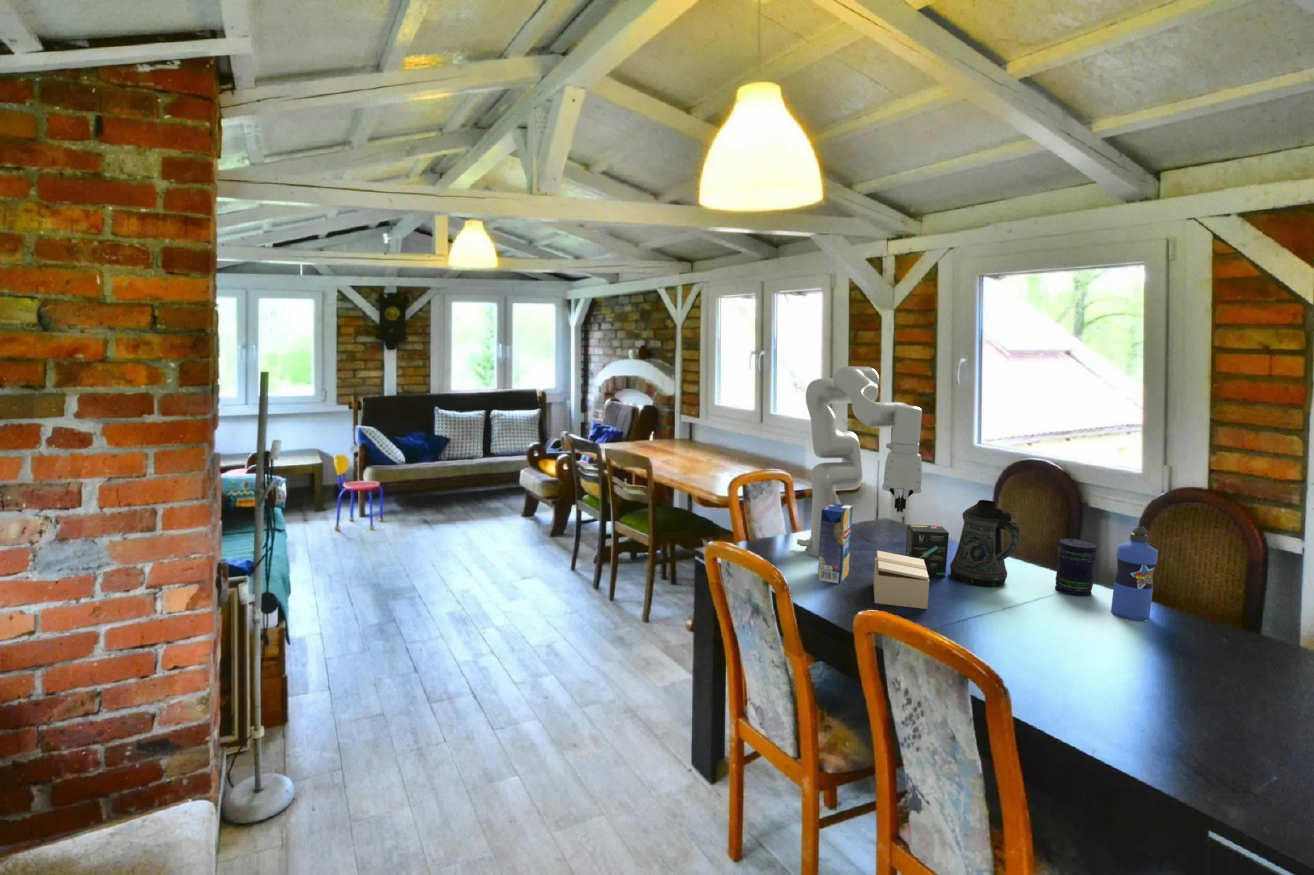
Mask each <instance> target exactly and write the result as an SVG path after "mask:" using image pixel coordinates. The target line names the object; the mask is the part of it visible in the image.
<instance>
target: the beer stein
mask: <svg viewBox="0 0 1314 875" xmlns="http://www.w3.org/2000/svg"><path fill="white" fill-rule="evenodd" d="M961 515H962V520H963V525H962V529H961V534H960V539H959V541H958V546H957V548H956V552H955V554H954V557H953V559H952V561H951V562H950V564H949V568H950V576H951V578H952V579H953V580H955V581H957V582H958V583H961V584H964V585H968V586H973V587H980V588H998V587H999V588H1000V587H1002V586H1004V585H1005V583H1006V580H1007V577H1008V570H1007V568H1006V563H1005V560H1006V559H1007V558H1009V557H1010V556H1011V555H1012V554H1013V553H1014V552H1016V550H1017V549H1018V547H1019V545H1020V543H1021V538H1022V537H1021V531H1020V527H1019V526H1018V525H1017V523H1016V522H1014V521H1012V515H1011V513H1010V512H1009V511H1008V510H1005V509H1002V508H1000V507H999V506H998V505H997V502H995V501H993V500H989V499H980V500H978V501H977V503H976V504H974V505H972V506H970V507H969V508H967V509H965V510H964V511H963V512H962V514H961ZM1003 530H1006V532H1008V533H1009V537H1010V541H1009V543H1008V544H1007V546H1006V547H1005V548H1004V538H1003V535H1004V534H1003Z"/></svg>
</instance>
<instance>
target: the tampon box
mask: <svg viewBox="0 0 1314 875" xmlns="http://www.w3.org/2000/svg"><path fill="white" fill-rule="evenodd" d="M906 528H907V529H906V541H905V543H906V544H905V556H908V557H913V558H919V559H924V562H925V566H926V569H927V573H928V576H929V578H933V577H935V578H946V572H947V564H948V563H947V561H948V559H947V558H948V549H949V538H950V532H949V531H948V530H946V529H945V527H944V526H942V525H934V524H933V525H932V524H931V525H930V524H907V527H906Z"/></svg>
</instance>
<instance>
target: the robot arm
mask: <svg viewBox="0 0 1314 875" xmlns="http://www.w3.org/2000/svg"><path fill="white" fill-rule="evenodd" d="M879 376H880V375H879V374H878V372H877V371H876V369H874V368H872V367H870V366H851V365H850V366H843V367H841V368H839V369H838V370H836V371H835V372H834V374H833V377H829V378H827V377H826V378H825V377H824V378H817V379H814V380H812V381H810V382H809V384H808V385H807V387H806V390H805V403H806V407H807V408H806V409H807V411H808V414H809V418H810V424H811V426H810V428H811V436H812V438H811V439H812V448H813V452H814V455H815V456H816V457H817V458H819V459H841V461H840V462H839V461H838V462H837V461H834V462H831V461H829V462H828V461H827V462H822V463H818V464H816V465H814V466H813V467H812V469H811V472H810V480H811V487H812V488H811V489H812V503H811V504H812V505H811V521H810V522H811V525H810V526H811V527H810V536H809V538H807V539H802V538H801V539H800V538H796V540H797V541H796V545H798V546H799V547H805V548H804V549H805V550H804V552H805V554H807V555H808V556H811V557H814V558H819V548H820V531H821V513H822V509H823V508H825V507H826V506H827V505H829V504H830V503H835V504H842V503H841V499H840V498H839V496H838V495H837V493H836V491H847V490H848V491H849V490H850V491H852V490H856V489H858V488H860V486H861V485H862V482H863V465H862V464H863V463H862V454H861V444H860V440H859V437H858V436H857V435H856V433H855V432H854V431H851V430H839V429H838V424H837V417H836V415H835V413H834V411H833V410H832V408H831V407H830V406H829V404H837V405H838V404H851V408H852V413H853V415H854V416H855V418H856V419H857V420H858V421H860V422H861V423H862V424H863V425H865V426H867V427H869V428H873V429H880V428H884V429H885V428H890V429H891V428H892V434H891V435H892V436H891V442H890V443H886V444H885V448H886V449H889V450H890V451H889V452H887V456H886V460H885V466H884V475H883V483H882V486H881V488H882V490H884V491H887V492H890V494H891V495H892V496H893V497H894V509H896V513H903V512H904V510H906V508H907V507H906V505H907V499H908V498H909V497H911V495H915V494H920V493H921V492H922V488H921V486H922V475H923V473H922V472H923V462H922V460H923V459H922V454H920V453H919V452H920V440H921V431H922V430H921V429H922V418H923V417H922V416H923V410H922V408H920V407H918V406H916V405H915V406H914V405H909V404H907V403H905V402H900V401H899V402H898V401H896V402H894V401H879V402H877V401H876V400H877V398H878V396H879V388H878V387H879V384H880V377H879ZM900 490H903V493H902V495H901V496H900V494H899V493H900V492H899V491H900Z"/></svg>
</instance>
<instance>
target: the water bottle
mask: <svg viewBox="0 0 1314 875" xmlns="http://www.w3.org/2000/svg"><path fill="white" fill-rule="evenodd" d="M1131 531H1132V532H1130V533H1129V534H1130V535H1129V541H1126V542H1123V543H1119V544H1117V549H1116V560H1117V561H1116V563H1117V565H1116V566H1117V568H1116V570H1117V572H1116V575H1115V579H1114V581H1113V582H1114V583H1113V591H1112V599H1111V607H1110V613H1111V614H1112V615H1114V616H1115V617H1118V618H1121V619H1124V620H1127V619H1128V620H1129V621H1133V622H1146V621H1145V620H1148V619H1149V620H1150V616H1151V608H1152V600H1153V592H1154V591H1153V590H1154V581H1153V577H1154V573H1155V570H1156V565H1157V563H1158V556H1159V550H1158V549H1157V548H1155V547H1152V546H1151V545H1149V543H1148V542H1149V535H1148V533H1149V530H1147V529H1146V527H1144V526H1141V525H1136V526H1134V527H1133V528H1132V529H1131ZM1128 620H1127V621H1128ZM1149 620H1148V621H1149Z"/></svg>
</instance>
